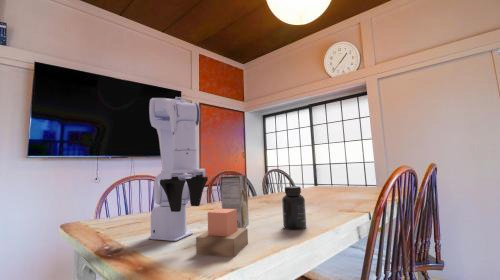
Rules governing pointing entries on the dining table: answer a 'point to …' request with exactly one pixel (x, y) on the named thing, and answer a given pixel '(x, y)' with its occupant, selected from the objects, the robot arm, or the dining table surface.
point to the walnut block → (222, 243)
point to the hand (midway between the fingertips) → (186, 208)
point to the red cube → (222, 222)
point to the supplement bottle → (293, 209)
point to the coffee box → (236, 197)
